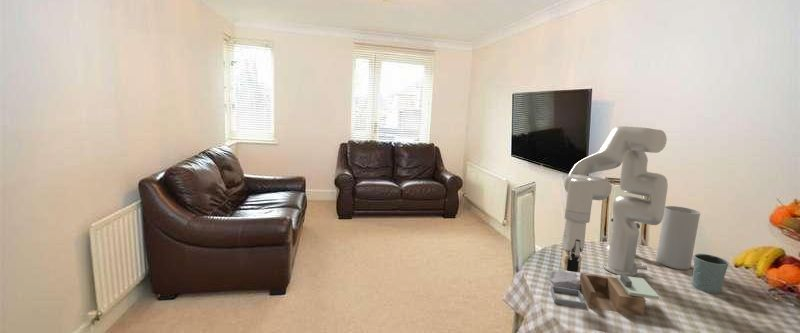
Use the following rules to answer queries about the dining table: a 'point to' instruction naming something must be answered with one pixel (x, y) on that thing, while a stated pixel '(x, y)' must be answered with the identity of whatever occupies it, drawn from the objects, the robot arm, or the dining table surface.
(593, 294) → the brown open box
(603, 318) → the dining table surface
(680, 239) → the cylinder vase
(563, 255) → the birch block
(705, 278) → the teal plant pot
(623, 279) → the sliding lid
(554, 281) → the stone block
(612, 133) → the robot arm
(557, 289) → the gray tray
